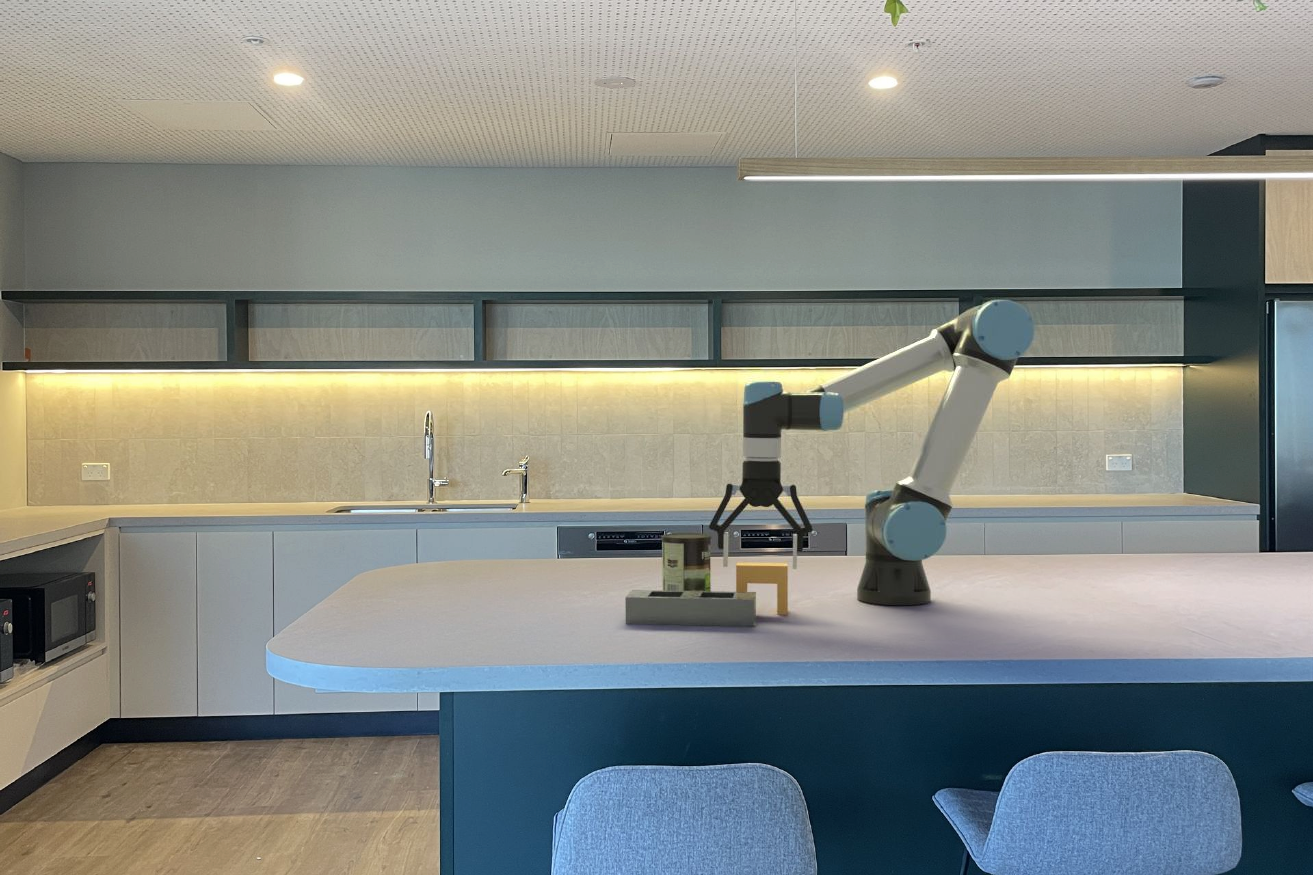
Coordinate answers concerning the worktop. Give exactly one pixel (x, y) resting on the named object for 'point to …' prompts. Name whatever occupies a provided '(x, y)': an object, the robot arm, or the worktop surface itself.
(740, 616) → the gray slotted block
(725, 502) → the robot arm
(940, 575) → the worktop surface
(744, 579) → the clip
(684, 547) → the coffee can
